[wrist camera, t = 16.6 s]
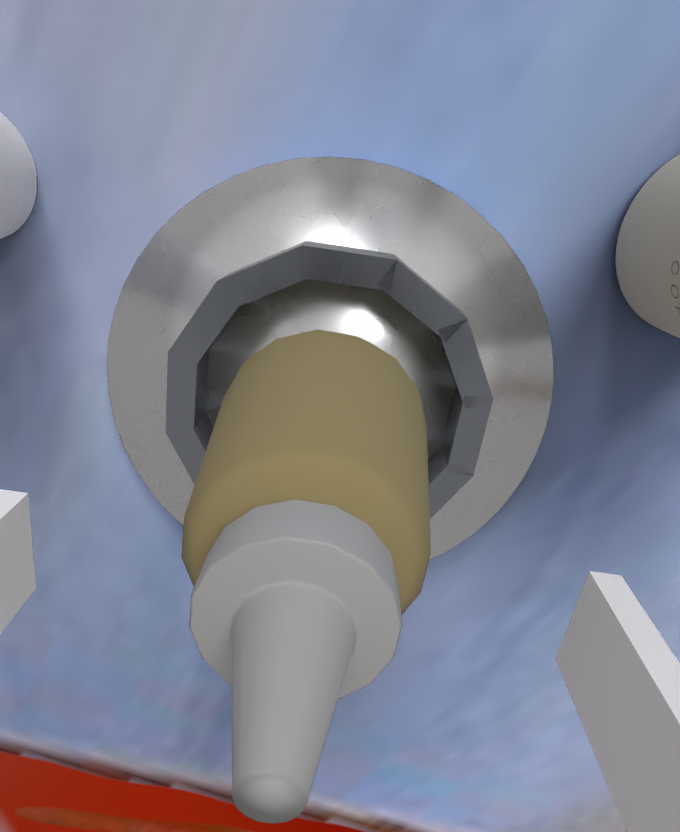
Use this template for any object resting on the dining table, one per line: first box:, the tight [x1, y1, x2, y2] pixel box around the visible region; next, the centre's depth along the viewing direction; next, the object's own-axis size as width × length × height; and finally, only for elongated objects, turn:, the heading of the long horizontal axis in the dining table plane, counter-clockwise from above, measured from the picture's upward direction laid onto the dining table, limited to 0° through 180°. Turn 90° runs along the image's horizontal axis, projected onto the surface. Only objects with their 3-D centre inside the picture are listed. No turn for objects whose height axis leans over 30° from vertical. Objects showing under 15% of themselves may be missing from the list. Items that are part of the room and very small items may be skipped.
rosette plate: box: [107, 157, 554, 560], centre depth 25 cm, size 20×20×4 cm
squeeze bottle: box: [182, 329, 431, 823], centre depth 17 cm, size 8×8×18 cm
